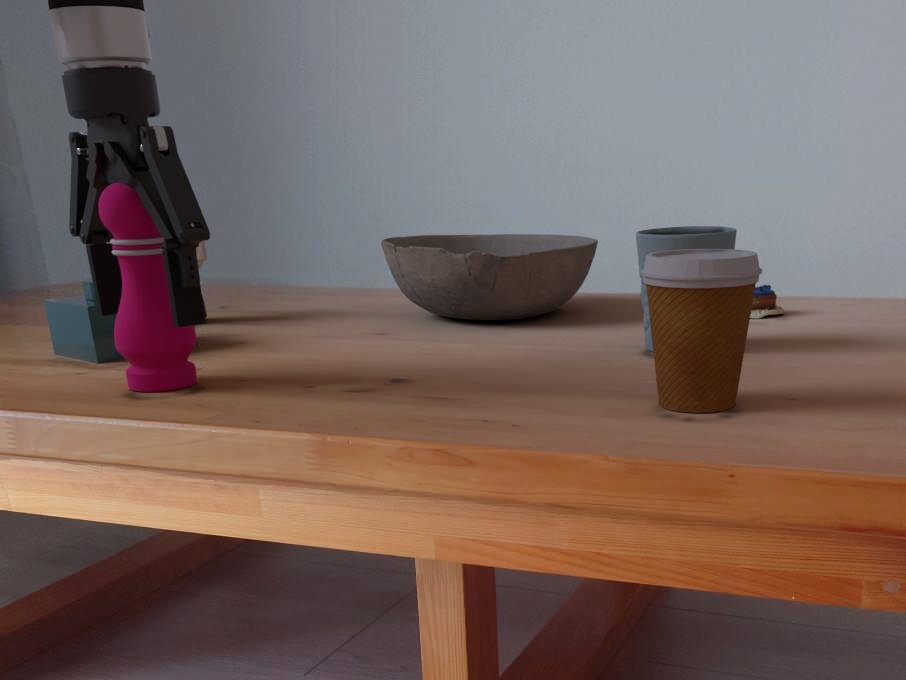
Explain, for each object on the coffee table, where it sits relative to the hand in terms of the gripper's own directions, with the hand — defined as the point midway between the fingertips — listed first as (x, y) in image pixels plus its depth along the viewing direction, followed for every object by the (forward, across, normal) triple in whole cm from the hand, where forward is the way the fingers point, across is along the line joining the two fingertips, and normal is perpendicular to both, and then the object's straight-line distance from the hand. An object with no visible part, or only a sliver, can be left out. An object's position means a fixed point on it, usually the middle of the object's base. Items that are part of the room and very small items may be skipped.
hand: (150, 319), depth 94 cm
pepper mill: (+6, 0, 0) cm, 6 cm away
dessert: (+7, -26, -67) cm, 72 cm away
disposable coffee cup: (+7, -46, -22) cm, 51 cm away
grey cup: (+7, -31, -43) cm, 53 cm away
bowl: (+7, +3, -49) cm, 50 cm away
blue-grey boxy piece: (+6, +21, -8) cm, 23 cm away
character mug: (+6, +34, -23) cm, 42 cm away
